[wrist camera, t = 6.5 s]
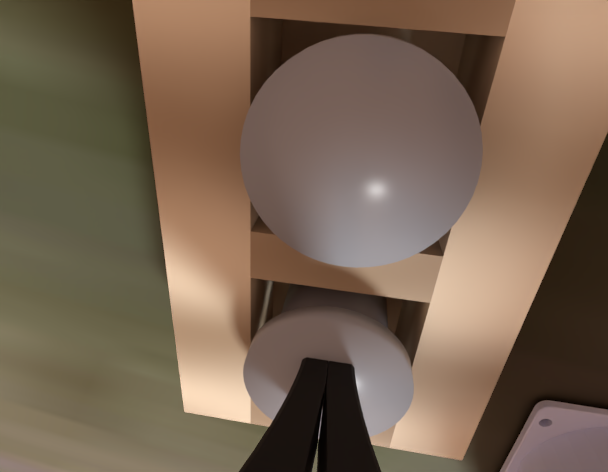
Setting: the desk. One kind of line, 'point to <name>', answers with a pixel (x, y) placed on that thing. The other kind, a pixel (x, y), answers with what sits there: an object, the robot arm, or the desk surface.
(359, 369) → the knob
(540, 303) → the desk surface
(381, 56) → the knob middle
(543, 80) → the knob mount
